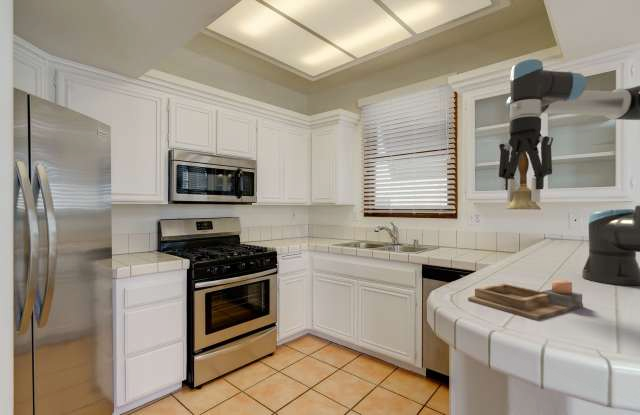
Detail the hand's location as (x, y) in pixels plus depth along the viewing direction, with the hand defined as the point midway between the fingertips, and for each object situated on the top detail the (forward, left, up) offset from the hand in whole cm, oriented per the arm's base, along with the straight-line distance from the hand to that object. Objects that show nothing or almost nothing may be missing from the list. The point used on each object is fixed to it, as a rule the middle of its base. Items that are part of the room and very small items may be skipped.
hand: (523, 201), depth 92 cm
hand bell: (0, 0, -2) cm, 2 cm away
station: (+9, +5, -26) cm, 28 cm away
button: (+2, +11, -22) cm, 25 cm away
